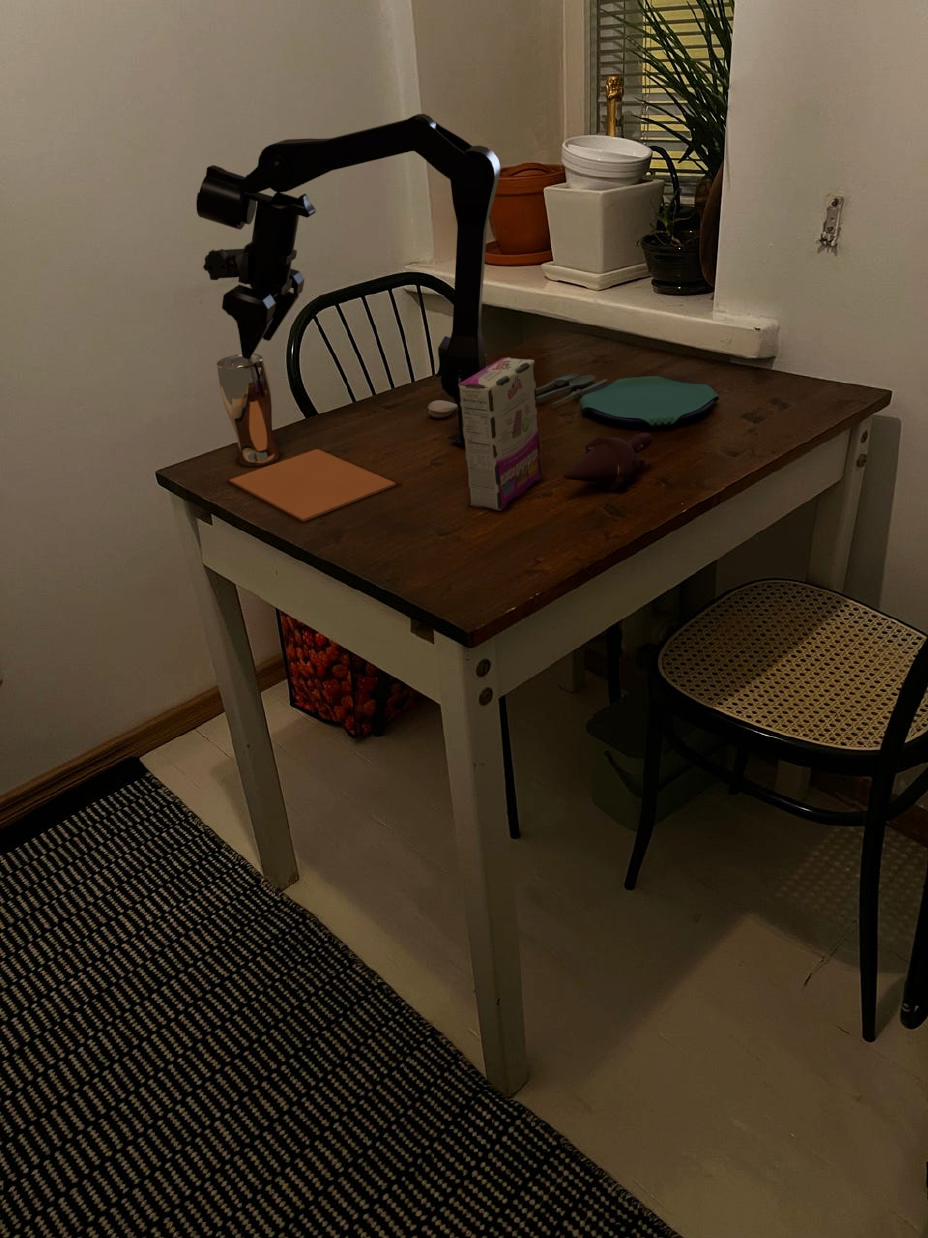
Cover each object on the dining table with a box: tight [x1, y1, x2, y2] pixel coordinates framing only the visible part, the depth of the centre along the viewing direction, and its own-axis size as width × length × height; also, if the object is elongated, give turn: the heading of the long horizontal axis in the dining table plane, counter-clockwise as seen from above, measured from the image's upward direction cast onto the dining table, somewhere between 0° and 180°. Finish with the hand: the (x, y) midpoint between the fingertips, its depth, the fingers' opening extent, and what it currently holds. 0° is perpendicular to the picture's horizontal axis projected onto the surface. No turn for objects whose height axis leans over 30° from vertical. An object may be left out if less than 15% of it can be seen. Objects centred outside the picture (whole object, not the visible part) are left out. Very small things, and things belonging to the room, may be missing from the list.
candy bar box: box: [458, 356, 542, 512], centre depth 122 cm, size 11×5×16 cm, turn 148°
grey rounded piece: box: [427, 399, 458, 419], centre depth 153 cm, size 4×5×2 cm
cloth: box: [228, 448, 397, 523], centre depth 134 cm, size 20×15×1 cm
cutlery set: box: [536, 372, 720, 428], centre depth 151 cm, size 20×30×2 cm, turn 46°
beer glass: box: [216, 353, 281, 467], centre depth 140 cm, size 7×7×15 cm
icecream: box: [562, 432, 654, 492], centre depth 123 cm, size 7×7×15 cm
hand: (256, 348), depth 139 cm, fingers open, 9 cm apart
